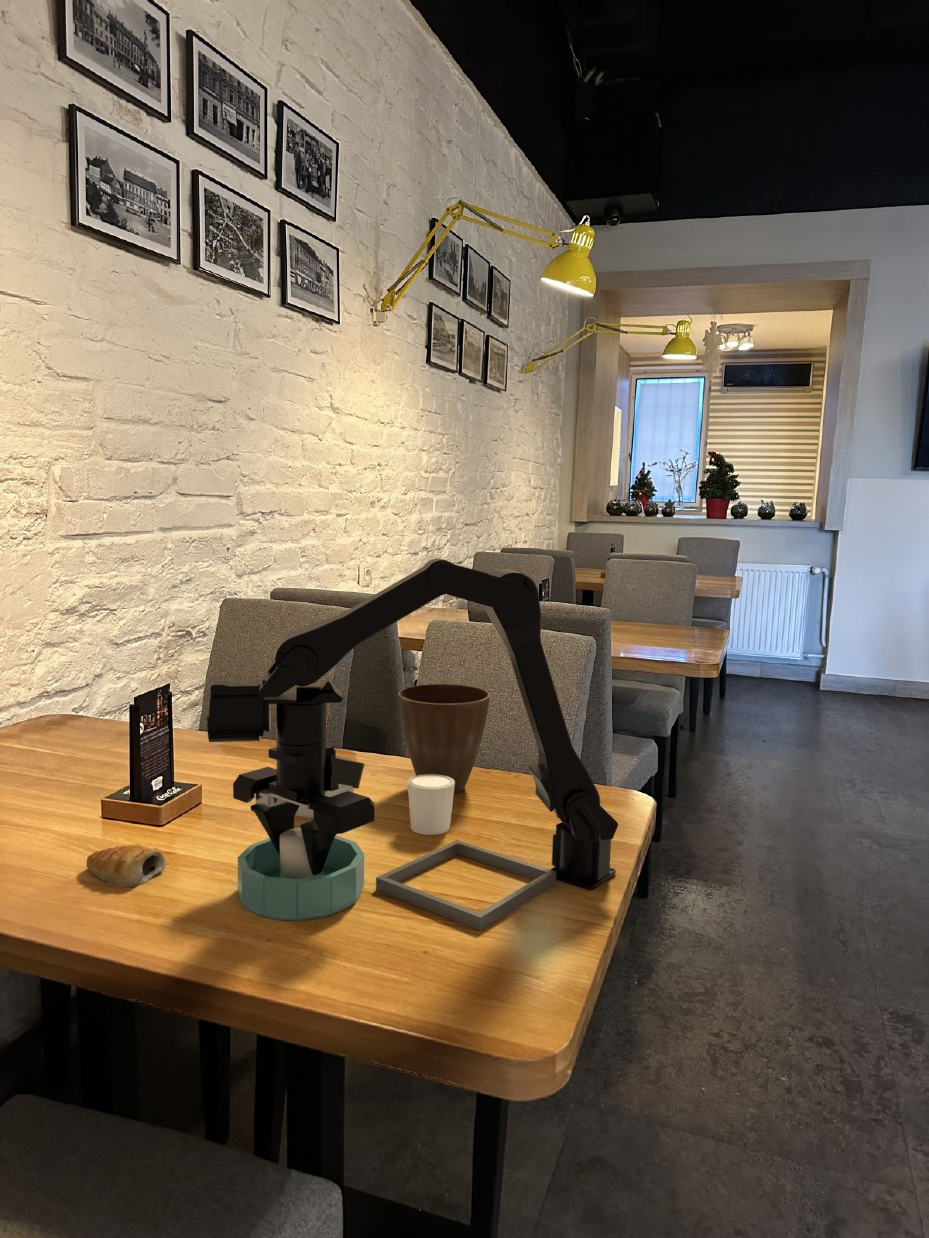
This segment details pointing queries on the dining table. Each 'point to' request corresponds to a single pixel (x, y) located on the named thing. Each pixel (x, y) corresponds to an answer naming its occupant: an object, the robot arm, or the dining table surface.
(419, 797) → the white cup
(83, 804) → the dining table surface
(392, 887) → the gray square frame
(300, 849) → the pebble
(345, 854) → the bowl
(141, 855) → the pastry
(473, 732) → the plant pot
